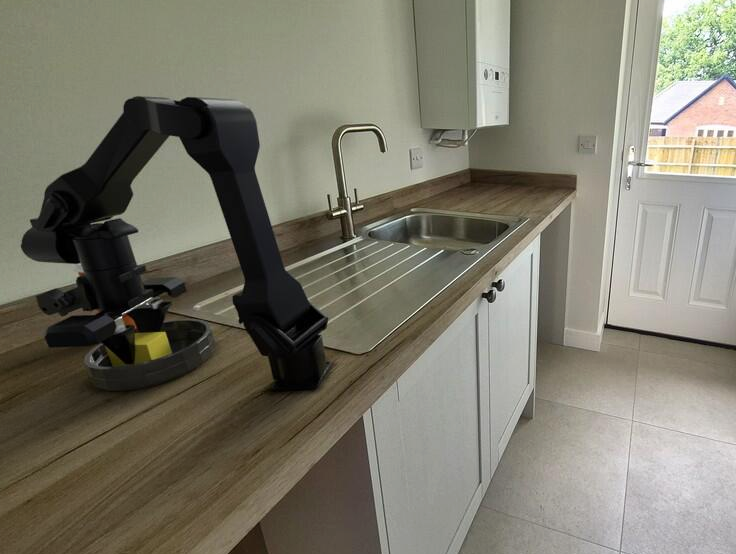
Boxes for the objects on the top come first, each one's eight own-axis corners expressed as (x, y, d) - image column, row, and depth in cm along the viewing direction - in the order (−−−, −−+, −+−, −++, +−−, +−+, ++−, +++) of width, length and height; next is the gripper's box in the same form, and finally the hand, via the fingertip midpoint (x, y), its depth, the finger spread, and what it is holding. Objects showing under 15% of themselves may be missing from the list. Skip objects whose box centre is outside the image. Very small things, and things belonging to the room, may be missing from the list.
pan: (234, 337, 73) (229, 317, 72) (175, 390, 59) (167, 366, 58) (145, 340, 72) (139, 320, 71) (63, 395, 58) (52, 371, 57)
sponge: (172, 353, 68) (165, 331, 66) (153, 366, 64) (146, 344, 63) (134, 354, 67) (126, 333, 66) (113, 368, 63) (104, 346, 62)
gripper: (106, 247, 69) (134, 329, 74) (-23, 291, 51) (25, 396, 56) (176, 245, 69) (199, 327, 74) (72, 289, 52) (111, 392, 57)
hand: (140, 356), depth 65 cm, fingers closed on sponge, 4 cm apart
